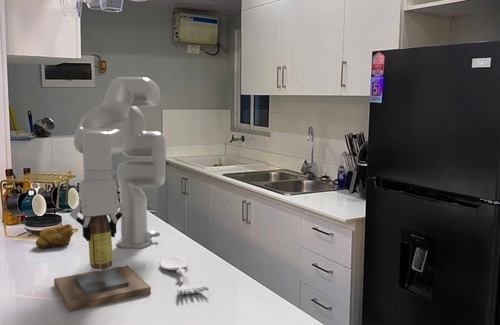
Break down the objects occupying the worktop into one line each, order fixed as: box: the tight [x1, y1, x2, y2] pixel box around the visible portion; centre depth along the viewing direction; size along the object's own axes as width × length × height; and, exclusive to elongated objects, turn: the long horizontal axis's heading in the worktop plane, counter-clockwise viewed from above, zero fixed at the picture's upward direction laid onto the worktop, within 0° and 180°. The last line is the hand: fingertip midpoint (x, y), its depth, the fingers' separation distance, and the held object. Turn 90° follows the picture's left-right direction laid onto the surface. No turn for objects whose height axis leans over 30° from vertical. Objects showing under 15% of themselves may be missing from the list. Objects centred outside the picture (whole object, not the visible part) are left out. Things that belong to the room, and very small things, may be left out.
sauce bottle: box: [88, 215, 114, 271], centre depth 133 cm, size 6×6×20 cm
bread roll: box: [35, 223, 74, 249], centre depth 174 cm, size 13×10×8 cm
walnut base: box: [53, 264, 152, 313], centre depth 135 cm, size 22×20×3 cm
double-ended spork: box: [159, 254, 209, 296], centre depth 143 cm, size 9×32×4 cm, turn 21°
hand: (99, 237), depth 133 cm, fingers closed on sauce bottle, 6 cm apart
